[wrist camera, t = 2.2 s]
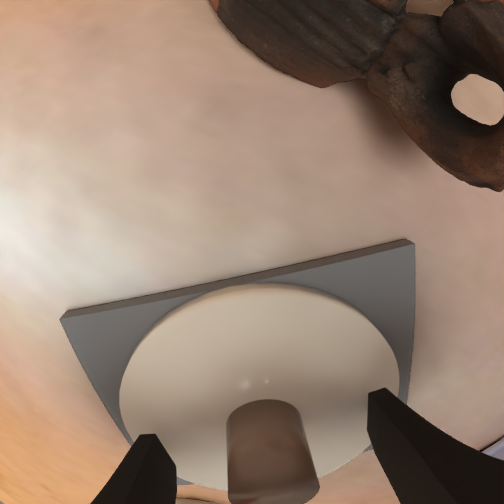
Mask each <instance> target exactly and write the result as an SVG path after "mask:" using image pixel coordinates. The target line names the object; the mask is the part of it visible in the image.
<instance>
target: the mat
mask: <svg viewBox="0 0 504 504" xmlns="http://www.w3.org/2000/svg"><path fill="white" fill-rule="evenodd" d="M273 282H275V283H287V284H297V285H302V286H306V287H311V288H316V289H319V290H322V291H324V292H327V293H330V294H333V295H335V296H337V297H339V298H341V299H343V300H345V301H347V302H349V303H350V304H352V305H353V306H354V307H356V308H357V309H358V310H360V311H361V312H362V313H363V314H364V315H365V316H366V317H367V318H368V319H369V320H370V321H371V322H372V323H373V324H374V325H375V327H376V328H377V329H378V330H379V332H380V333H381V334H382V336H383V337H384V338H385V340H386V341H387V343H388V344H389V346H390V347H391V349H392V351H393V353H394V356H395V358H396V361H397V365H398V370H399V392H398V398H399V399H400V400H401V401H402V402H404V403H405V404H407V397H408V389H409V381H410V372H411V362H412V351H413V337H414V320H415V243H413V242H411V241H409V240H407V239H403V240H399V241H395V242H391V243H386V244H382V245H378V246H374V247H369V248H365V249H361V250H357V251H352V252H348V253H344V254H339V255H335V256H331V257H326V258H322V259H318V260H313V261H309V262H304V263H300V264H295V265H291V266H286V267H282V268H277V269H273V270H268V271H264V272H259V273H254V274H250V275H245V276H241V277H236V278H231V279H226V280H222V281H217V282H212V283H207V284H203V285H198V286H193V287H188V288H183V289H178V290H174V291H169V292H164V293H159V294H154V295H149V296H144V297H139V298H134V299H128V300H123V301H118V302H113V303H108V304H103V305H97V306H92V307H87V308H81V309H76V310H71V311H66V312H65V313H64V314H63V316H62V317H61V318H60V319H59V320H60V322H61V324H62V326H63V328H64V331H65V333H66V335H67V337H68V339H69V341H70V343H71V345H72V347H73V349H74V351H75V353H76V355H77V357H78V359H79V361H80V363H81V365H82V367H83V369H84V371H85V373H86V374H87V376H88V378H89V380H90V382H91V383H92V385H93V387H94V389H95V390H96V392H97V394H98V396H99V397H100V399H101V401H102V402H103V404H104V406H105V407H106V409H107V411H108V412H109V414H110V415H111V417H112V419H113V420H114V422H115V423H116V425H117V426H118V428H119V429H120V431H121V432H122V434H123V435H124V437H125V438H126V440H127V441H128V443H129V444H130V445H131V447H132V445H133V444H134V441H133V440H132V439H131V437H130V435H129V433H128V432H127V430H126V428H125V425H124V422H123V420H122V417H121V411H120V406H119V391H120V387H121V382H122V378H123V375H124V373H125V370H126V368H127V365H128V363H129V360H130V358H131V356H132V354H133V352H134V349H135V347H136V346H137V344H138V343H139V341H140V340H141V338H142V337H143V335H144V334H145V333H146V332H147V331H148V330H149V329H150V328H151V327H152V326H153V325H154V323H155V322H156V321H158V320H159V319H160V318H162V317H163V316H164V315H166V314H167V313H168V312H169V311H171V310H172V309H174V308H176V307H178V306H180V305H181V304H183V303H185V302H187V301H188V300H191V299H193V298H196V297H198V296H201V295H203V294H205V293H208V292H212V291H215V290H219V289H223V288H226V287H230V286H237V285H243V284H250V283H273ZM371 449H373V446H372V444H370V445H369V446H368V447H367V448H366V449H365V450H364V451H363V452H365V451H368V450H371ZM190 484H194V483H191V482H189V481H186V480H183V479H181V478H179V477H177V485H190Z"/></svg>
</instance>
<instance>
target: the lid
mask: <svg viewBox="0 0 504 504" xmlns="http://www.w3.org/2000/svg"><path fill="white" fill-rule="evenodd" d="M384 387H385V388H387V389H388V390H389V391H391V392H392V393H393V394H394V395H395V396H396V397H398V392H399V370H398V365H397V361H396V358H395V356H394V353H393V351H392V349H391V347H390V346H389V344H388V343H387V341H386V340H385V338H384V337H383V336H382V334H381V333H380V332H379V330H378V329H377V328H376V327H375V325H374V324H373V323H372V322H371V321H370V320H369V319H368V318H367V317H366V316H365V315H364V314H363V313H362V312H361V311H360V310H358V309H357V308H356V307H354V306H353V305H352V304H350V303H349V302H347V301H345V300H343V299H341V298H339V297H337V296H335V295H333V294H330V293H327V292H324V291H322V290H319V289H316V288H311V287H306V286H302V285H297V284H287V283H275V282H273V283H250V284H243V285H237V286H230V287H226V288H223V289H219V290H215V291H212V292H208V293H205V294H203V295H201V296H198V297H196V298H193V299H191V300H188V301H187V302H185V303H183V304H181V305H180V306H178V307H176V308H174V309H172V310H171V311H169V312H168V313H167V314H166V315H164V316H163V317H162V318H160V319H159V320H158V321H156V322H155V323H154V325H153V326H152V327H151V328H150V329H149V330H148V331H147V332H146V333H145V334H144V335H143V337H142V338H141V340H140V341H139V343H138V344H137V346H136V347H135V349H134V352H133V354H132V356H131V358H130V360H129V363H128V365H127V368H126V370H125V373H124V375H123V378H122V382H121V387H120V391H119V406H120V411H121V417H122V420H123V422H124V425H125V428H126V430H127V432H128V433H129V435H130V437H131V439H132V440H133V441H134V442H135V441H136V439H137V438H138V436H139V435H140V434H155V433H156V435H157V437H158V438H159V440H160V441H161V443H162V445H163V446H164V448H165V449H166V451H167V452H168V454H169V455H170V457H171V459H172V460H173V462H174V463H175V465H176V469H177V477H179V478H181V479H183V480H186V481H189V482H191V483H194V484H197V485H200V486H204V487H208V488H212V489H218V490H224V491H228V499H229V501H230V502H231V504H304V503H306V502H308V501H309V500H311V499H312V498H313V497H314V496H315V495H316V494H317V493H318V491H319V488H320V485H319V481H318V478H321V477H323V476H326V475H328V474H330V473H331V472H333V471H335V470H337V469H339V468H341V467H342V466H344V465H345V464H347V463H349V462H350V461H351V460H353V459H354V458H355V457H357V456H358V455H359V454H361V453H362V452H363V451H364V450H365V449H366V448H367V447H368V446H369V445H370V444H371V441H370V438H369V435H368V432H367V412H368V393H369V392H372V391H375V390H378V389H381V388H384Z"/></svg>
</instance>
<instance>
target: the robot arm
mask: <svg viewBox="0 0 504 504" xmlns="http://www.w3.org/2000/svg"><path fill="white" fill-rule="evenodd" d="M367 432H368V435H369V438H370V441H371V444H372V446H373V449H374V452H375V454H376V456H377V458H378V460H379V462H380V464H381V466H382V468H383V470H384V472H385V474H386V476H387V478H388V479H389V481H390V483H391V485H392V487H393V489H394V491H395V493H396V495H397V497H398V499H399V501H400V503H401V504H504V438H503V439H501V440H500V441H498V442H497V443H495V444H494V445H492V446H490V447H489V448H487V449H486V450H484V451H482V452H480V451H478V450H475V449H473V448H471V447H469V446H467V445H465V444H463V443H462V442H460V441H458V440H456V439H454V438H453V437H451V436H449V435H448V434H446V433H445V432H443V431H441V430H440V429H438V428H437V427H435V426H434V425H432V424H431V423H430V422H428V421H427V420H426V419H424V418H423V417H421V416H420V415H419V414H417V413H416V412H415V411H414V410H412V409H411V408H410V407H408V406H407V405H406V404H405V403H404V402H402V401H401V400H400V399H399V398H398V397H396V396H395V395H394V394H393V393H392V392H391V391H389V390H388V389H387V388H385V387H384V388H381V389H378V390H375V391H372V392H369V393H368V412H367ZM176 494H177V469H176V465H175V463H174V462H173V460H172V459H171V457H170V455H169V454H168V452H167V451H166V449H165V448H164V446H163V445H162V443H161V441H160V440H159V438H158V437H157V435H156V433H155V434H140V435H139V436H138V438H137V439H136V441H135V442H134V444H133V445H132V447H131V448H130V450H129V451H128V453H127V454H126V456H125V457H124V459H123V460H122V462H121V463H120V465H119V466H118V468H117V469H116V471H115V472H114V474H113V475H112V476H111V478H110V479H109V481H108V482H107V483H106V485H105V486H104V487H103V489H102V490H101V491H100V492H99V494H98V495H97V496H96V498H95V499H94V500H93V501H92V502H91V504H175V503H176Z"/></svg>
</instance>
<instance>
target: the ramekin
mask: <svg viewBox="0 0 504 504" xmlns="http://www.w3.org/2000/svg"><path fill="white" fill-rule="evenodd" d="M175 504H217V503H213V502H207V501H201V500H193V499H183V498H176V503H175Z"/></svg>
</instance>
